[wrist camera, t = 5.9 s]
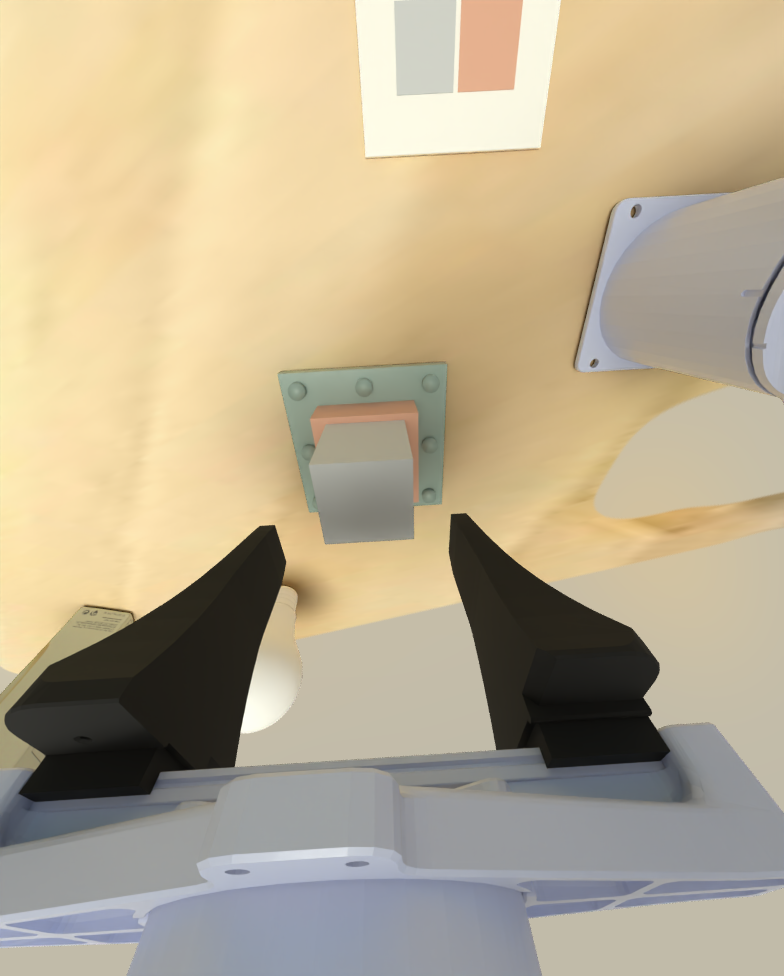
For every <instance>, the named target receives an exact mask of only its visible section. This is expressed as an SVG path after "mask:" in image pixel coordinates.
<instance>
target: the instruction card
mask: <svg viewBox="0 0 784 976" xmlns="http://www.w3.org/2000/svg"><path fill="white" fill-rule="evenodd" d="M560 3H561V0H355V5H356V21H357V36H358V51H359V66H360V81H361V96H362V111H363V126H364V141H365V156H366V158H384V157H402V156H421V155H439V154H457V153H476V152H494V151H512V150H531V149H539V148H540V146H541V139H542V132H543V125H544V117H545V110H546V103H547V96H548V89H549V82H550V74H551V67H552V60H553V53H554V46H555V39H556V32H557V24H558V17H559V10H560Z"/></svg>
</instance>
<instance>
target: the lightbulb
mask: <svg viewBox="0 0 784 976" xmlns="http://www.w3.org/2000/svg"><path fill="white" fill-rule="evenodd" d="M297 601H298V595H297V593H296V591H295V590H294V589H292V588H290V587H288V586H281V587H280V590H279V593H278V596H277V599H276V602H275V605H274V607H273V610H272V613H271V615H270V618H269V621H268V624H267V626H266V629H265V632H264V635H263V638H262V641H261V644H260V647H259V651H258V655H257V659H256V663H255V667H254V671H253V675H252V680H251V684H250V688H249V693H248V697H247V702H246V707H245V712H244V717H243V722H242V727H241V732H240V733H252V732H256V731H259V730H262V729H264V728H267V727H269V726H270V725H272V724H274V723H275V722H277V720H279V719H280V718H281V717H282V716H283V715H284V714H285V713H286V712H287V711H288V710H289V708H290V707H291V706H292V704H293V702H294V701H295V698H296V697H297V694H298V692H299V689H300V686H301V681H302V662H301V658H300V654H299V650H298V647H297V645H296V642H295V622H296V613H295V611H296V606H297Z"/></svg>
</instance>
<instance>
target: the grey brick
mask: <svg viewBox="0 0 784 976" xmlns="http://www.w3.org/2000/svg"><path fill="white" fill-rule="evenodd" d="M309 469H310V474H311V479H312V483H313V488H314V493H315V498H316V503H317V508H318V512H319V517H320V522H321V527H322V532H323V537H324V541H325V544H340V543H356V542H373V541H390V540H406V539H414V501H413V457H412V452H411V447H410V443H409V438H408V434H407V429H406V425H405V420H393V421H375V422H358V423H340V424H326V425H325V427H324V430H323V432H322V435H321V437H320V439H319V442H318V444H317V446H316V449H315V451H314V454H313V456H312V458H311V461H310V463H309Z"/></svg>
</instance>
